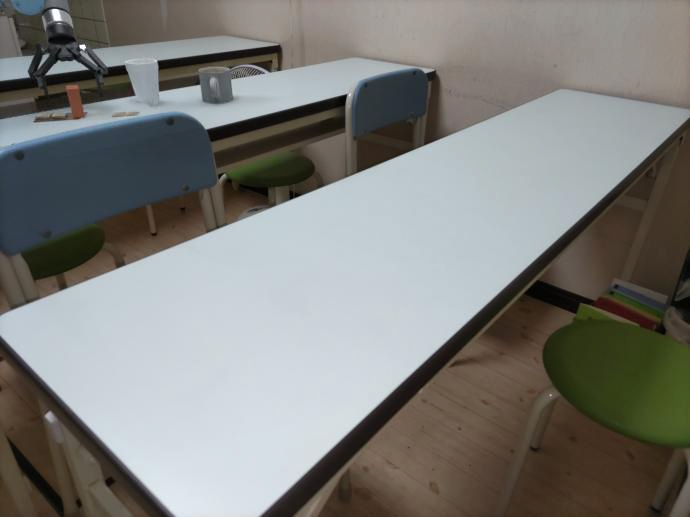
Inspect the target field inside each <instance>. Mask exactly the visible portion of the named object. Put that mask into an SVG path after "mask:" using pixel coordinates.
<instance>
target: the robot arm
mask: <svg viewBox="0 0 690 517" xmlns="http://www.w3.org/2000/svg"><path fill="white" fill-rule="evenodd" d="M0 7H1V8H5V9H6V8H7V9H12V10H14V11H16V12H19V13H20V14H22V15H24V16H35V15H38V14H40V15H41V19H42V23H43V29H44V31H45V37H46V41H47V45H46V46H45V45H41V43H36V44H35V53H34V55H33V57H32V59H31V62H30V64H29V66H28V69H27V74H28V76H29V78H30V79H36V80H37V81H36V82H37V86H38V89H39V90H43V92H44V97H45V100H46V102H50V101H51V99H50V95H49V90H48V85H47V81H46V78H45V76H46V75H47V74H48V73H49V71H50V70H51V69H52V68H53V67H54V65H57V63H58V62H60V63H65V62H74V61H75V62H77V63H78V64H81V65H82V66H84V67H85V68H86V69H88V70H89V71H90V72H92V73H93V74H94V78H95V82H96V86H97V91H98V95H99V98H103V97H104V94H103V90H102V86H104V85H105V81H104V77H103V76H104V75H108V74H109V70H108V66H107V65H106V64H105V63H104V62H103V61H102V59H101V58H100V57H99V56H98V55H97V54H96V53H95V51H94V50H93V49H92V48H91V45H90V43H89V42H87V41H86V42H84V44H79V43H78V40H77V37H76V32H75V29H74V24H73V23H74V22H73V19H72V15H71V10H70V7H69V2H68V0H0ZM81 51H82V52H83V53H84V54H87V56H88V58H89V59H90V60H91V61H90V60H89V59H88V58H86V57H85V56H84V55H82V53H81ZM47 52H48V56H47V58H46V59H45V60H44V62H43V63H42V64H41V62H42V60H43V56H45V54H46V53H47Z"/></svg>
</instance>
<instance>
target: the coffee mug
mask: <svg viewBox="0 0 690 517" xmlns="http://www.w3.org/2000/svg"><path fill="white" fill-rule="evenodd" d="M198 77H199V78H198V79H199V84H200V93H201V101H202V102H203V103H207V104H225V103H229V102H232V101H233V100H234V94H233V84H232V76H231V69H230V68H229V67H225V66H207V67H202V68H199V69H198Z"/></svg>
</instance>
